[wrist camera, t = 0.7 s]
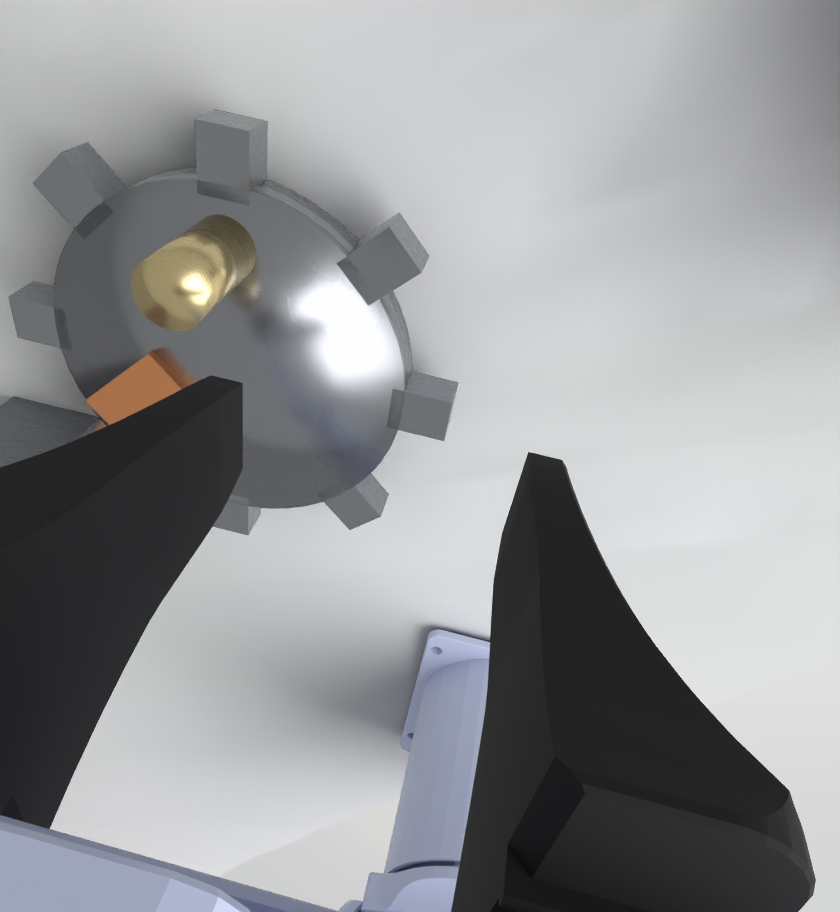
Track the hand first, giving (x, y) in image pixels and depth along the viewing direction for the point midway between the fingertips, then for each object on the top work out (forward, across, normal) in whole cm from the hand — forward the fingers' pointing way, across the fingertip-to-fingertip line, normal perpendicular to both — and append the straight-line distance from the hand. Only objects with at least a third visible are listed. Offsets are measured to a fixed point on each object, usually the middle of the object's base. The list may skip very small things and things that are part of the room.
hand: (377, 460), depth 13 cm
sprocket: (+8, +6, +4) cm, 11 cm away
